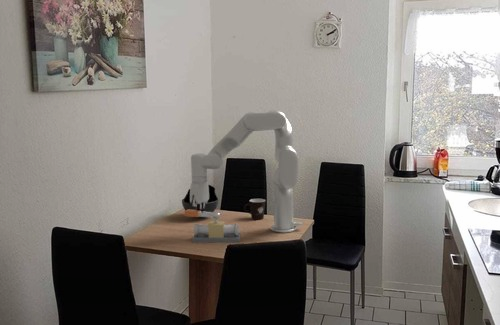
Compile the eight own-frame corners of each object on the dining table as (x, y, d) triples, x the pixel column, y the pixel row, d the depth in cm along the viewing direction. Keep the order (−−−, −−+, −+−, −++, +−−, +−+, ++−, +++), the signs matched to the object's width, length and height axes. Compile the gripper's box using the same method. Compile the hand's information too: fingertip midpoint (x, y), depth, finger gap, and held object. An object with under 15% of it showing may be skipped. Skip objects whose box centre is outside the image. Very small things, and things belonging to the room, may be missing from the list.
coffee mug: (265, 216, 295) (264, 198, 294) (266, 220, 287) (265, 202, 285) (243, 216, 295) (243, 199, 293) (244, 220, 286) (244, 202, 285)
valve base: (240, 235, 259) (240, 215, 257) (239, 241, 249) (239, 220, 247) (195, 235, 259) (194, 215, 258) (192, 242, 249) (191, 220, 248)
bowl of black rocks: (213, 222, 283) (212, 187, 281) (177, 221, 287) (176, 186, 285) (222, 213, 303) (222, 181, 300) (188, 212, 307) (187, 180, 304)
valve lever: (188, 214, 260) (187, 209, 260) (220, 217, 253) (220, 212, 253) (184, 215, 257) (184, 210, 257) (217, 219, 250) (217, 213, 250)
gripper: (202, 176, 266) (203, 212, 269) (183, 181, 253) (185, 219, 256) (214, 177, 262) (215, 214, 265) (196, 182, 249) (197, 221, 252)
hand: (200, 216), depth 260 cm, fingers closed
